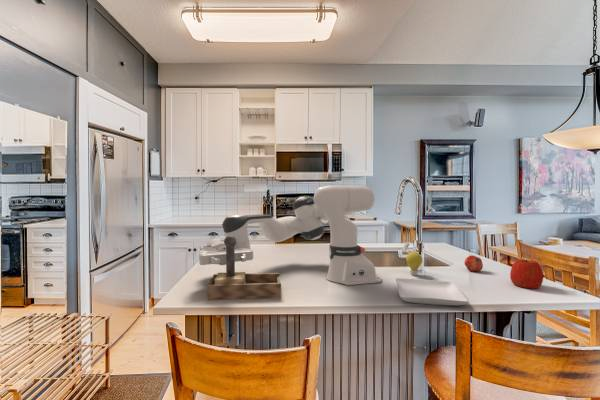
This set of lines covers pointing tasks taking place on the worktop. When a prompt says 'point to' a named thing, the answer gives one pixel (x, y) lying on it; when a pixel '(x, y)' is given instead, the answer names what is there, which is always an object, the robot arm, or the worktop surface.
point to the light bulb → (414, 262)
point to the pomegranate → (473, 263)
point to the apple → (526, 274)
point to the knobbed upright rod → (230, 265)
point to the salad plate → (430, 292)
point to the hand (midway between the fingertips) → (231, 260)
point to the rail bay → (247, 287)
